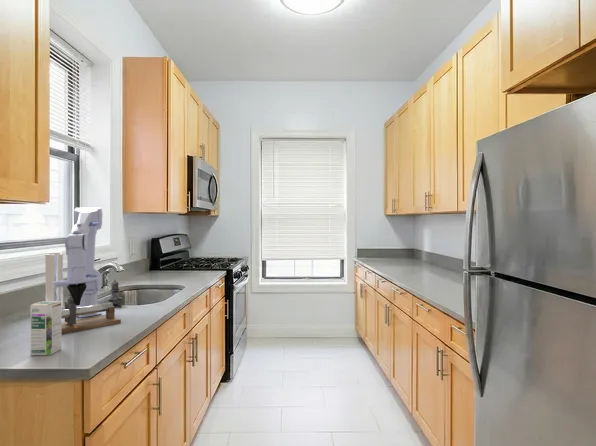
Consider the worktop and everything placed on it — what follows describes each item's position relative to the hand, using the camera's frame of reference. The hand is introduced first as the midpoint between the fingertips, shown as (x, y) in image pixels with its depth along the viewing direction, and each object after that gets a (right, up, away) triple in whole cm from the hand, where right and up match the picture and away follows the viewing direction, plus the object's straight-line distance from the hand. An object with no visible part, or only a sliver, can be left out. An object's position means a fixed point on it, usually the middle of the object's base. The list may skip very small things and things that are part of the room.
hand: (76, 305), depth 138 cm
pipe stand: (+1, -8, +1) cm, 8 cm away
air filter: (-26, -8, +29) cm, 40 cm away
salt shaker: (-3, -8, +34) cm, 35 cm away
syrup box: (+7, -8, -27) cm, 29 cm away
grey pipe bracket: (-1, -6, -2) cm, 6 cm away
